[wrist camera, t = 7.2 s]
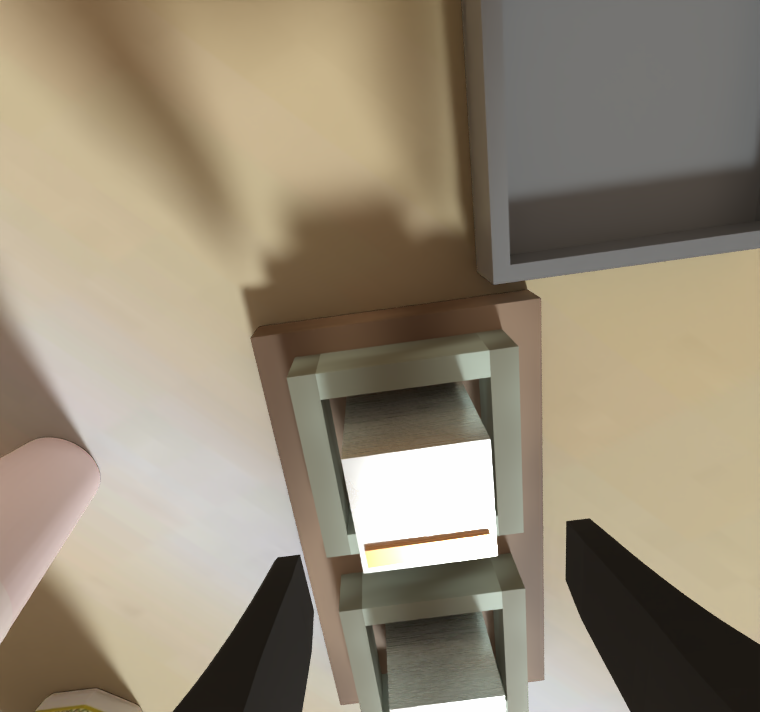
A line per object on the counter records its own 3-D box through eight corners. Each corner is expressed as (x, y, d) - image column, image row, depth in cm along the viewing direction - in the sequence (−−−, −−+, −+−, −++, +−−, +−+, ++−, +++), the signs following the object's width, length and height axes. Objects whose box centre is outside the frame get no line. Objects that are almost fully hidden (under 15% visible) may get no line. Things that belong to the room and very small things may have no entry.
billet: (474, 586, 22) (506, 699, 17) (479, 650, 23) (509, 771, 19) (384, 598, 22) (389, 714, 17) (395, 661, 24) (403, 784, 19)
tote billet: (457, 373, 18) (491, 441, 13) (465, 467, 20) (498, 559, 15) (347, 388, 18) (340, 462, 13) (363, 481, 20) (363, 577, 15)
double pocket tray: (527, 289, 18) (562, 312, 15) (534, 653, 26) (559, 721, 22) (258, 326, 19) (236, 356, 15) (341, 677, 26) (338, 748, 23)
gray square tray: (811, -131, 14) (900, -195, 12) (755, 233, 18) (814, 240, 16) (456, -78, 14) (474, -129, 12) (476, 272, 18) (493, 284, 16)
